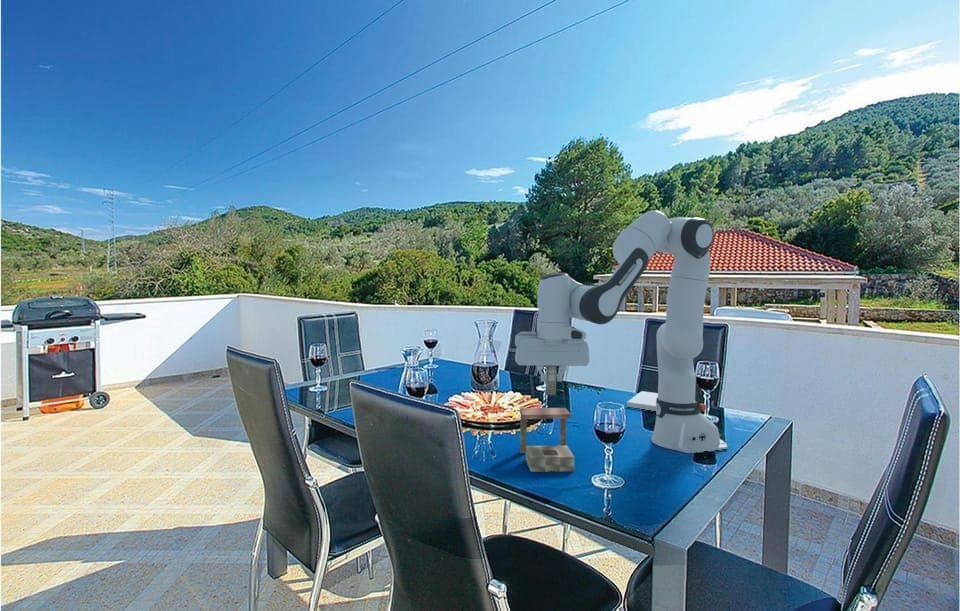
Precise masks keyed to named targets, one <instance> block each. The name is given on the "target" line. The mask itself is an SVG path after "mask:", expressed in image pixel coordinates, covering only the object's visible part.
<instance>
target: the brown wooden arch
mask: <svg viewBox="0 0 960 611" xmlns="http://www.w3.org/2000/svg"><path fill="white" fill-rule="evenodd" d="M519 413H520V434H519V435H520V438H519V440H520V443H519V448H520V451H519V452H520V454H526V446H527V421H528V420H529V419H530V420H532V419H533V420H537V419H539V420H542V419H544V420H545V419H547V420H548V419H553V420H554V419H559V441H558V442H559V443H558V444H559V445H558V446H567V443H566V442H567V419H572V414H571V413H570V411H569V410H568V409H567V408H566V407H520V408H519Z"/></svg>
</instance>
